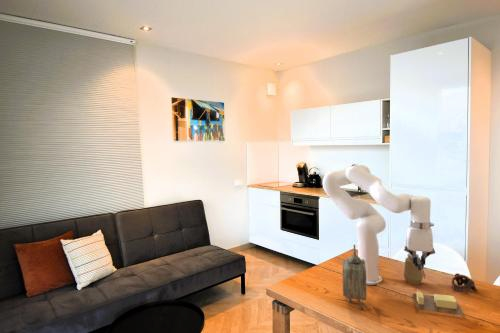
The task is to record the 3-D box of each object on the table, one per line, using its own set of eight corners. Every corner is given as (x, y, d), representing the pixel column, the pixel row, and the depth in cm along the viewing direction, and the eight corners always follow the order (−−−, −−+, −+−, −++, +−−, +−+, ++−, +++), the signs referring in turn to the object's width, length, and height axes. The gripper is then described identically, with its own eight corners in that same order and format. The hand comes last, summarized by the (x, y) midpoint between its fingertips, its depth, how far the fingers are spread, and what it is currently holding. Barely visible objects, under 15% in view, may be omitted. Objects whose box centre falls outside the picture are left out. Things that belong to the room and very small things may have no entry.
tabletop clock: (366, 312, 124) (366, 251, 122) (343, 309, 126) (342, 250, 125) (364, 295, 138) (363, 240, 136) (343, 293, 140) (342, 239, 139)
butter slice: (418, 304, 127) (418, 297, 126) (416, 298, 131) (416, 291, 131) (424, 304, 126) (424, 297, 126) (421, 298, 131) (421, 292, 130)
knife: (422, 278, 123) (422, 272, 123) (414, 262, 140) (414, 257, 140) (427, 279, 123) (427, 273, 122) (419, 263, 140) (419, 257, 139)
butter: (436, 306, 124) (436, 299, 124) (433, 300, 129) (433, 293, 129) (456, 309, 122) (456, 302, 121) (453, 303, 126) (453, 296, 126)
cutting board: (417, 312, 123) (417, 309, 123) (412, 295, 136) (412, 293, 136) (464, 318, 117) (464, 315, 117) (454, 301, 130) (454, 298, 130)
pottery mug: (484, 297, 134) (478, 283, 132) (462, 304, 136) (455, 291, 134) (467, 278, 145) (461, 265, 143) (447, 286, 147) (441, 273, 145)
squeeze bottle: (421, 281, 149) (422, 245, 148) (423, 288, 142) (423, 250, 141) (403, 279, 153) (403, 243, 151) (403, 286, 145) (403, 248, 144)
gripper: (438, 224, 135) (437, 264, 136) (398, 221, 140) (398, 260, 142) (443, 228, 128) (441, 271, 129) (400, 225, 133) (399, 266, 135)
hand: (418, 265), depth 135 cm, fingers closed on knife, 2 cm apart
